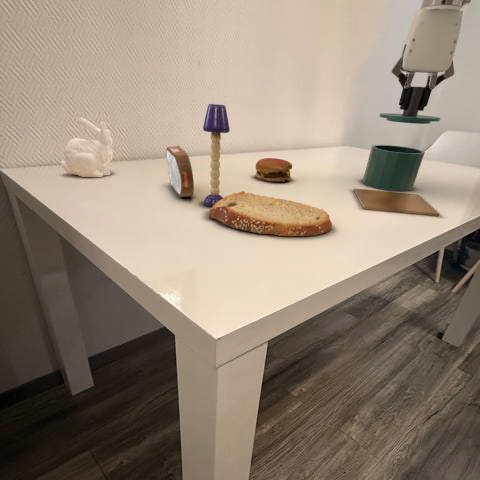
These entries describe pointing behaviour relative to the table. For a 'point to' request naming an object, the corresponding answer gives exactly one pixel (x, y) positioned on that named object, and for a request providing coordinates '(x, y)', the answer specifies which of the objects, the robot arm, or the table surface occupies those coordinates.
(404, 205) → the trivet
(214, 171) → the toy lamp
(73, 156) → the rabbit
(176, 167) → the tin
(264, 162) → the burger
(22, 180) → the table surface
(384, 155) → the enamel tin
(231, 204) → the bread slice
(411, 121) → the tin lid
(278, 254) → the table surface
